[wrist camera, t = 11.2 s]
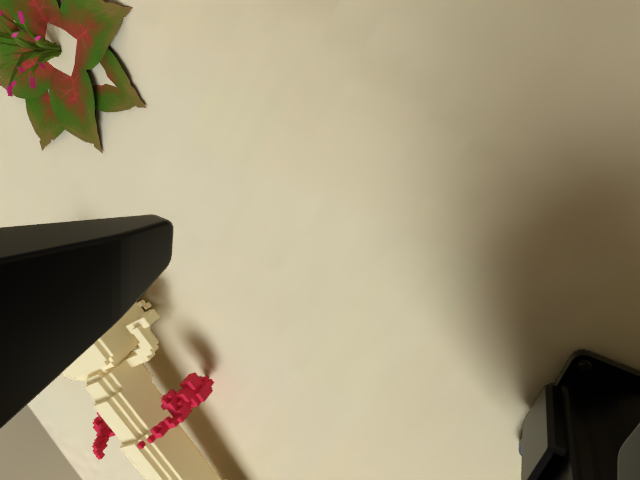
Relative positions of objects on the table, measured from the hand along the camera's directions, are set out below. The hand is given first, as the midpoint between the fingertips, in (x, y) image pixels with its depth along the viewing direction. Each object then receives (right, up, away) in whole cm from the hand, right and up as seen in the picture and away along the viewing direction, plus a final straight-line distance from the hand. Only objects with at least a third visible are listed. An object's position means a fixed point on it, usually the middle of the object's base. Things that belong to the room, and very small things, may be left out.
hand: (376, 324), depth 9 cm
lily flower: (-15, +12, +18) cm, 26 cm away
